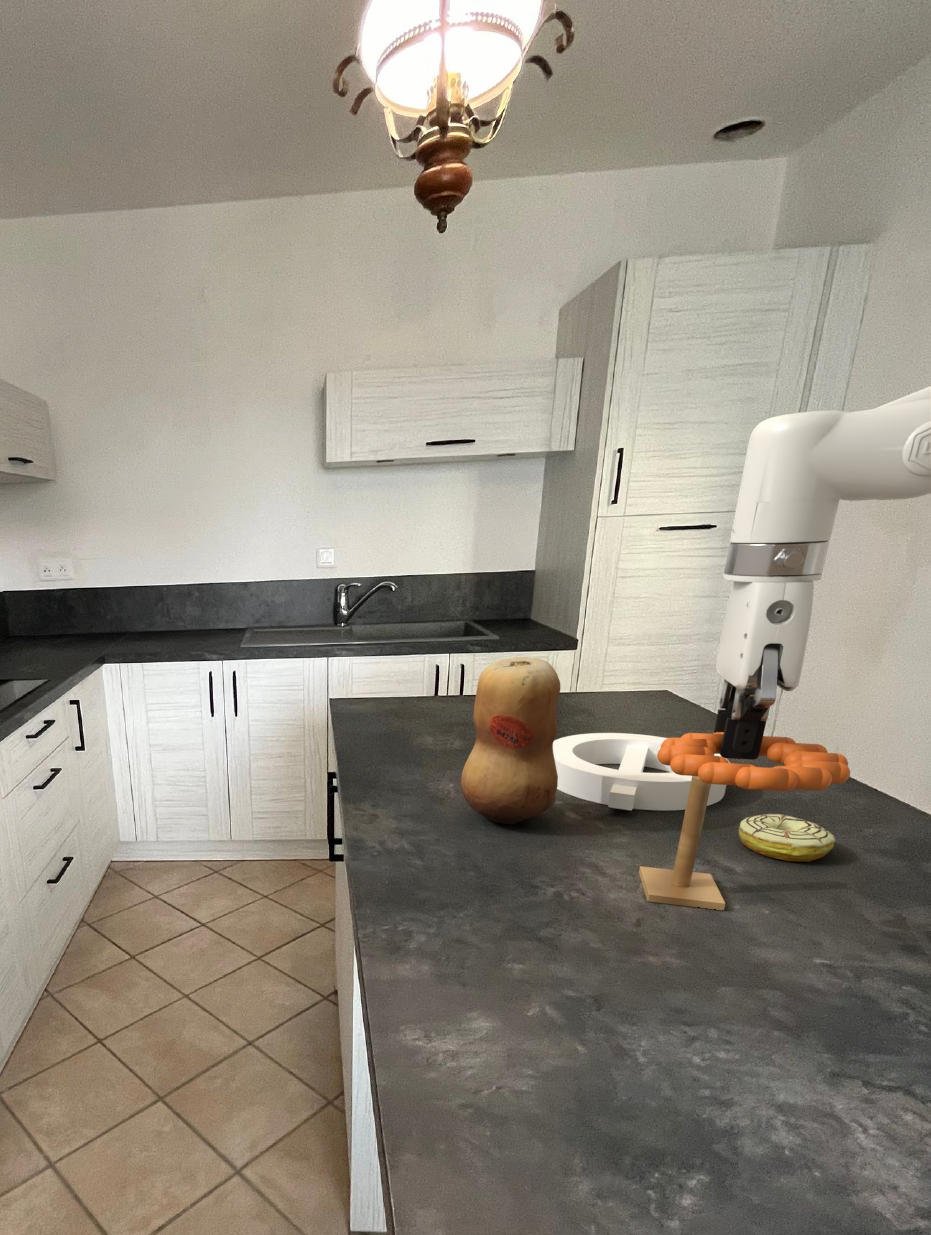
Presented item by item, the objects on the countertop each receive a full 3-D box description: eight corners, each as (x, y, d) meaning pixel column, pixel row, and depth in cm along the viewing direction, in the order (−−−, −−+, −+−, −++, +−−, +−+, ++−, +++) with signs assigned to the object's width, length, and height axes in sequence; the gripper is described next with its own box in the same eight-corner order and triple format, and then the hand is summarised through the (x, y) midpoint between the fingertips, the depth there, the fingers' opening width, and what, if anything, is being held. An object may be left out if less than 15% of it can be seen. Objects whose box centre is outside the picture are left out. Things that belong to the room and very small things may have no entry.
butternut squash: (449, 829, 110) (461, 665, 101) (467, 800, 121) (479, 649, 112) (547, 843, 104) (569, 670, 95) (556, 811, 115) (576, 653, 106)
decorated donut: (826, 842, 101) (833, 817, 99) (832, 872, 92) (840, 845, 91) (737, 828, 106) (742, 804, 105) (735, 855, 98) (741, 830, 97)
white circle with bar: (617, 819, 111) (622, 790, 109) (512, 766, 136) (514, 741, 135) (767, 798, 117) (773, 770, 115) (639, 750, 142) (643, 727, 140)
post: (709, 880, 92) (733, 768, 86) (724, 910, 85) (751, 791, 79) (638, 872, 94) (658, 763, 89) (647, 901, 87) (668, 785, 82)
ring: (819, 753, 72) (824, 734, 72) (873, 800, 61) (880, 778, 61) (645, 744, 77) (649, 727, 77) (667, 786, 66) (671, 766, 66)
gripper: (859, 568, 59) (805, 781, 65) (792, 557, 73) (753, 733, 79) (751, 570, 61) (709, 775, 68) (706, 559, 75) (676, 730, 82)
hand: (733, 751), depth 74 cm, fingers closed on ring, 2 cm apart
